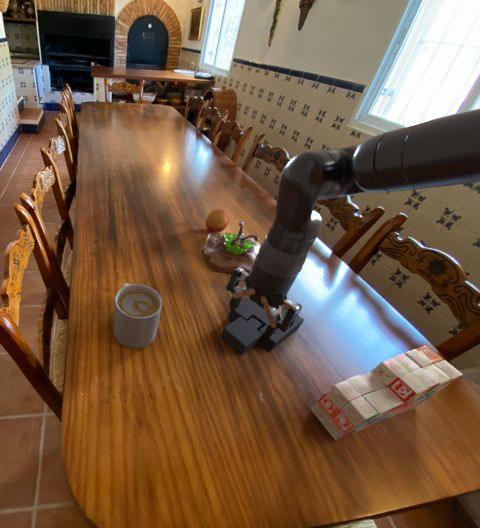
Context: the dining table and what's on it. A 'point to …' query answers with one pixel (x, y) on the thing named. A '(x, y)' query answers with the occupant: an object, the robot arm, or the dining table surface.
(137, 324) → the coffee mug
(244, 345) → the pad
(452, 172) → the robot arm
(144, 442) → the dining table surface
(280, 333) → the notch pad
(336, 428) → the stack of blocks
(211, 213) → the fruit
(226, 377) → the dining table surface
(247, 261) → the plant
